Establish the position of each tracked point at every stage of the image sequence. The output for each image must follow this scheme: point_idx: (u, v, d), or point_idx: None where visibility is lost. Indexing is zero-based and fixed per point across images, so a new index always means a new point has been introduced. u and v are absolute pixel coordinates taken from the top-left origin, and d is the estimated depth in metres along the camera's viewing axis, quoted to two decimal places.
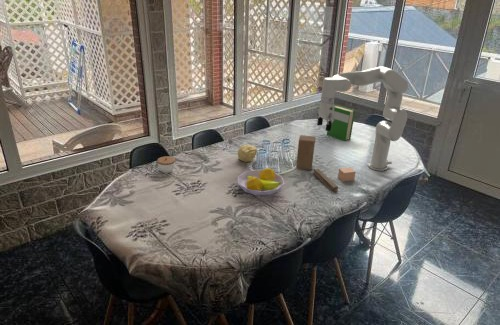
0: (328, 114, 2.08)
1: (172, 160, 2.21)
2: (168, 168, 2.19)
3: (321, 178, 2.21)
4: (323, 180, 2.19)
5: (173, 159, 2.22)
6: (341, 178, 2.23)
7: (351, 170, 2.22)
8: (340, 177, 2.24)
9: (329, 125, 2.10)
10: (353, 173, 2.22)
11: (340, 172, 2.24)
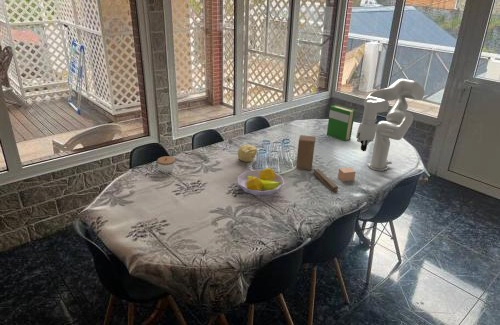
0: None
1: (172, 160, 2.21)
2: (168, 168, 2.19)
3: (321, 178, 2.21)
4: (323, 180, 2.19)
5: (173, 159, 2.22)
6: (341, 178, 2.23)
7: (351, 170, 2.22)
8: (340, 177, 2.24)
9: None
10: (353, 173, 2.22)
11: (340, 172, 2.24)
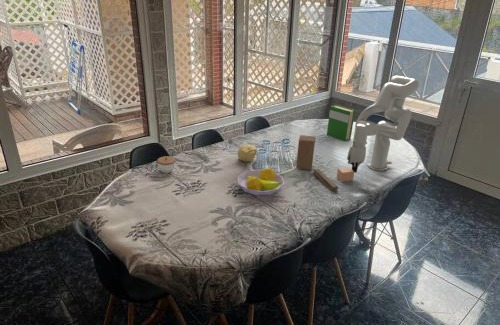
0: None
1: (172, 160, 2.21)
2: (168, 168, 2.19)
3: (321, 178, 2.21)
4: (323, 180, 2.19)
5: (173, 159, 2.22)
6: (340, 178, 2.23)
7: (350, 170, 2.22)
8: (339, 177, 2.24)
9: None
10: (352, 173, 2.21)
11: (339, 172, 2.23)
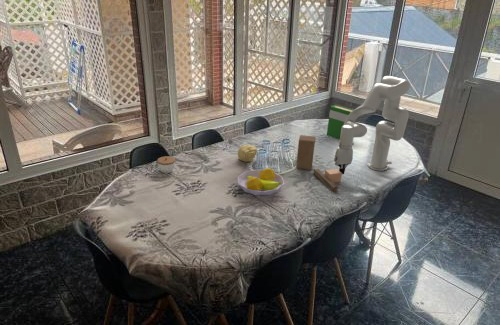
0: None
1: (172, 160, 2.21)
2: (168, 168, 2.19)
3: (321, 178, 2.21)
4: (323, 180, 2.19)
5: (173, 159, 2.22)
6: None
7: (337, 172, 2.20)
8: None
9: None
10: (339, 174, 2.19)
11: (326, 173, 2.21)
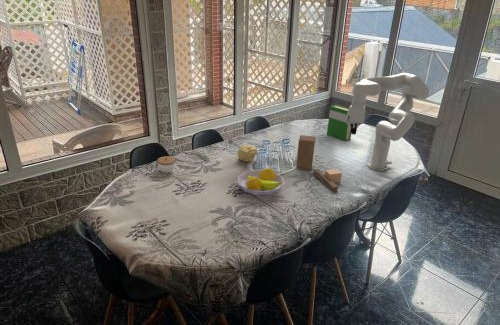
0: None
1: (172, 160, 2.21)
2: (168, 168, 2.19)
3: (321, 178, 2.21)
4: (323, 180, 2.19)
5: (173, 159, 2.22)
6: None
7: (337, 172, 2.20)
8: None
9: None
10: (339, 175, 2.19)
11: (326, 173, 2.21)
